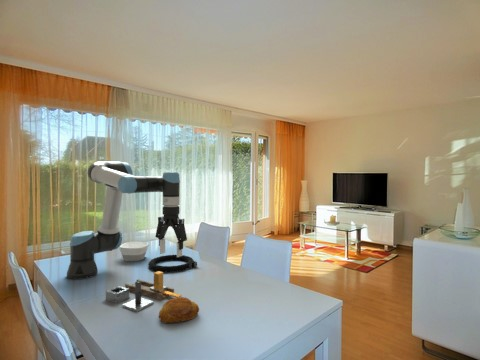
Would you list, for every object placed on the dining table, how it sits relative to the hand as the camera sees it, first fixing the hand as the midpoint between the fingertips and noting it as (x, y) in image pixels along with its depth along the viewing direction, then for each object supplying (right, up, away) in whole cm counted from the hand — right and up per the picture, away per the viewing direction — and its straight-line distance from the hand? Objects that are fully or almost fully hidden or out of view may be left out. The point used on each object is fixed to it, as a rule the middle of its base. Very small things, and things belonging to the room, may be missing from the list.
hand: (170, 254), depth 134 cm
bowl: (-38, -18, +60) cm, 74 cm away
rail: (-12, -19, +7) cm, 24 cm away
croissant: (+7, -20, -16) cm, 27 cm away
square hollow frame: (-24, -19, -2) cm, 31 cm away
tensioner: (-2, -18, +2) cm, 19 cm away
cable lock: (-9, -19, +47) cm, 51 cm away
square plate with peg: (-12, -20, -8) cm, 24 cm away
